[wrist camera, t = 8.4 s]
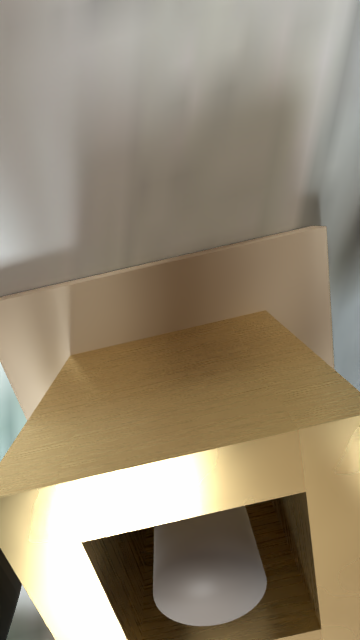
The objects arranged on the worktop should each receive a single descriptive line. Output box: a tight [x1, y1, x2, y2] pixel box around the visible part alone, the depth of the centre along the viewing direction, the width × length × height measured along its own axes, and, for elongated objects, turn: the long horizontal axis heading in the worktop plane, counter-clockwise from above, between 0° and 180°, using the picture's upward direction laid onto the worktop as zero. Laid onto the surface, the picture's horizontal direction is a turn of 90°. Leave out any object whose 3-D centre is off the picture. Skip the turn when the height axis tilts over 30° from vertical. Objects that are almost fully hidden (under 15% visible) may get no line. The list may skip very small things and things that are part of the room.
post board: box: [0, 226, 334, 626], centre depth 8 cm, size 10×10×6 cm
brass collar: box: [0, 310, 360, 640], centre depth 8 cm, size 6×6×5 cm
